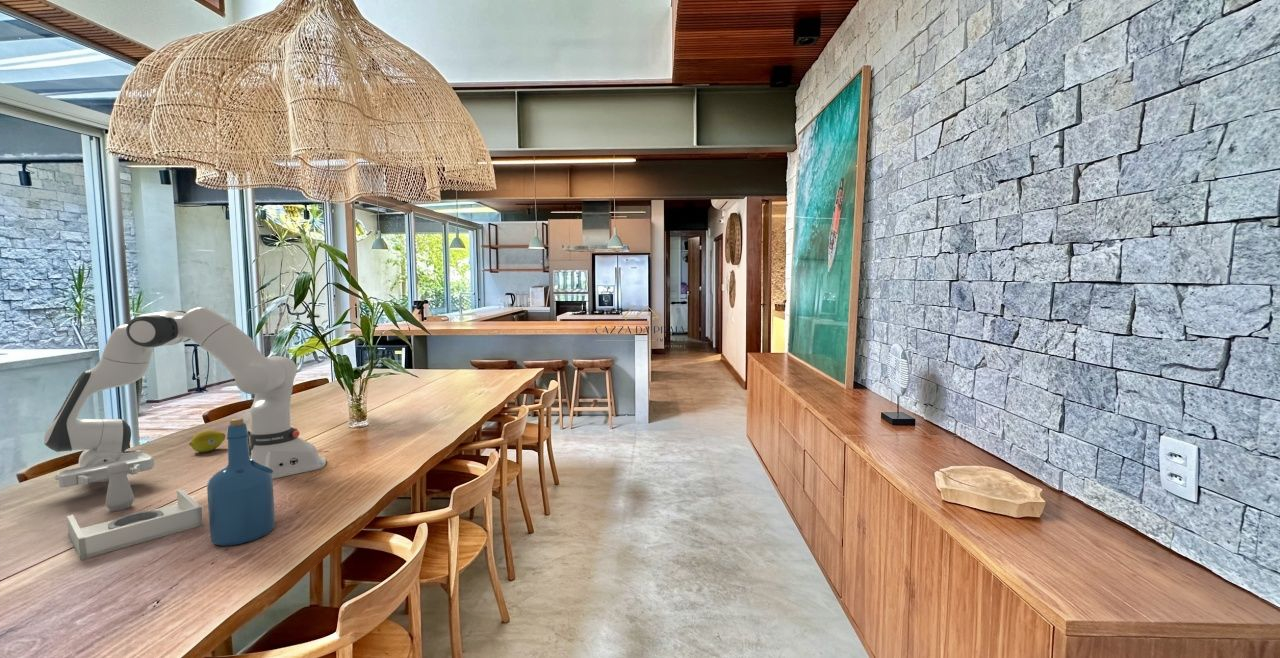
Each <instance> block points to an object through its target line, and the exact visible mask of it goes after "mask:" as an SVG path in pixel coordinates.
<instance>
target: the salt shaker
mask: <svg viewBox="0 0 1280 658" xmlns="http://www.w3.org/2000/svg"><path fill="white" fill-rule="evenodd" d="M127 470H128V464H127V463H125V462H120V463H114V464H111V465H109V466H108V467H107V473H108V474H110V478H109V481H108V485H107V490H106V497H105V503H104V504H105V506H106V507H107V509H108V510H109V511H110V512H119V511H122V510H124V511H125V510H126V509H129V508H131V507H132V504H133V502H134V499H135V495H134V492H133V489H132V487H131V484H130V481H129V479H128V476H127V475H128V474H127V475H126V472H125V471H127Z"/></svg>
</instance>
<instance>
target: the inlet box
mask: <svg viewBox="0 0 1280 658" xmlns="http://www.w3.org/2000/svg"><path fill="white" fill-rule="evenodd" d="M176 497H177V498H176V499H177V503H174V504H171V505H167V506H163V507H160V508H155V509H151V510H143V511H137V512H134V513H130V514H126V515H122V516H120V517H117V518H116V519H111V520H108V521H104V522H101V523H97V524H93V525H89V526H84V527H80V525H79V523H78V522H77V520H76V518H75V516H74V514H70V515H67V516H66V519H67V531H68V537H69V539H70V541H71V543H72V546H73V547H74V550H75V551H76V553H77V556H78V558H79V560H80V561H82V560H86V559H89V558H93V557H97V556H100V555H103V554H108V553H111V552H114V551H118V550H121V549H124V548H128V547H132V546H135V545H138V543H139V544H142V543H146V542H149V541H151V540H156V539H159V538H163V537H166V536H170V535H174V534H177V533H181V532H183V531H187V530H191V529H194V528H197V527H198V528H199V527H201V526H203V525H204V524H203V523H204V522H203V508H202V506H201V504H199V502H197V501H196V500H194V498H192V497H191V496H190V495H189V494H188V493H187V492H186V491H184V490H183V489H182V488H180V489H177V490H176ZM131 545H132V546H131Z"/></svg>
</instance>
